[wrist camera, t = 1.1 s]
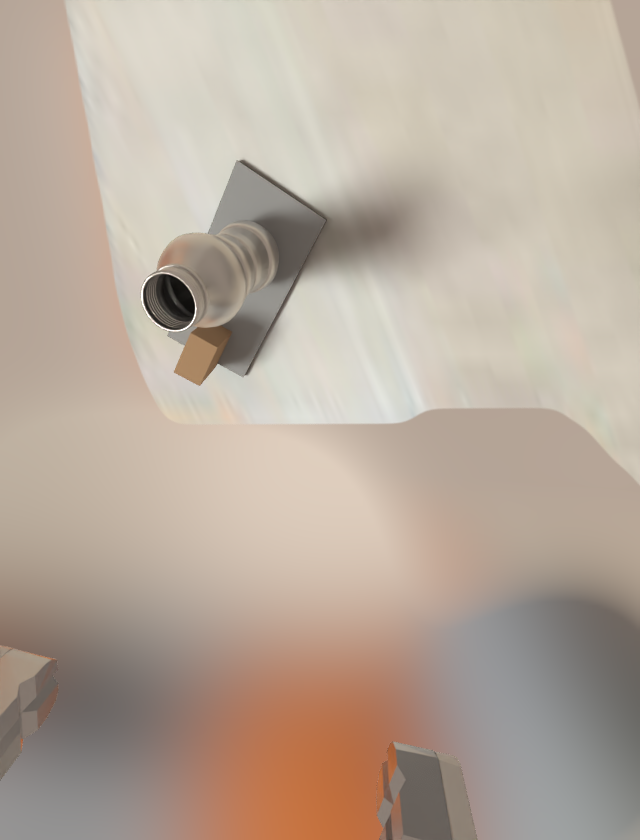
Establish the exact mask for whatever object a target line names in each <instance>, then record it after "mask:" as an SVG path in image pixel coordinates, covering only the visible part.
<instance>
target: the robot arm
mask: <svg viewBox="0 0 640 840" xmlns="http://www.w3.org/2000/svg"><path fill="white" fill-rule="evenodd" d="M57 670H58V665H57V660H56V659H52V658H48V657H44V656H40V655H36V654H32V653H28V652H24V651H20V650H17V649H14V648H10V647H6V646H1V645H0V780H1V779H2V777H3V776H4V775H5V773H6V772H7V771H8V769H9V768H10V767H11V765H12V764H13V763H14V761H15V760H16V759H17V757H18V756H19V755H20V753H21V751H22V744H23V739H24V738H26V737H28V736H29V735H31V734H32V733H34V732H36V731H37V730H38V729H39V728H40V726H41V725H42V724H43V722H44V721H45V720H46V718H47V716H48V715H49V713H50V711H51V709H52V707H53V705H54V703H55V701H56V698H57V694H58V682H57V681H56V679H55V678H54V677H53V675H54V674H55V673H56V672H57ZM387 757H388V760H387V761H385V762H384V763H382V766H381V768H380V771H379V776H378V783H377V798H376V800H377V801H376V802H377V816H378V819H379V821H380V823H381V825H382V827H383V831H382V834H381V836H380V838H379V840H477V835H476V831H475V827H474V822H473V818H472V813H471V809H470V804H469V801H468V796H467V791H466V787H465V783H464V778H463V774H462V769H461V765H460V763H459V761H458V759H457V758H456V757H455V756H452V755H447V754H443V753H439V752H435V751H433V750H428V749H424V748H419V747H415V746H411V745H406V744H402V743H397V742H391V743H390V745H389V747H388V750H387Z"/></svg>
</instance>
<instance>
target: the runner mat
mask: <svg viewBox="0 0 640 840" xmlns="http://www.w3.org/2000/svg"><path fill="white" fill-rule="evenodd" d="M239 220H249V221H252V222H255V223H257V224H259V225H261V226H263V227H264V228H265V229H266V230H268V231H269V232H270V234H271V235H272V236H273V238H274V240H275V242H276V244H277V247H278V252H279V264H278V269H277V272H276V275H275V277H274V279H273V280H272V282H271V283H270V284H269V285H268V286H267V287H266V288H264V289H262V290H260V291H257V292H254V293H249V294H248V295H247V296H246V298H245V300H244V302H243V305H242V306H241V308H240V309H239V311H238V312H237V314H236V315H235V316H234V317H233V318H232V319H231V320H230V321H228V322H227V323H225V324H223V325H220V326H217V327H209V328H202V327H195V326H191V327H190V328H189V329H187V330H184V331H181V332H170V331H169V333H168V335H167V336H168V337H170V338H172V339H174V340H176V341H177V342H179V343H181V344H183V345H185V347H184V349H183V352H182V354H181V356H180V359H179V361H178V363H177V366H176V368H175V370H174V373H176V374H178V375H180V376H182V377H184V378H186V379H187V380H189V381H191V382H193V383H195V384H197V385H199V386H200V385H201V384H202V382H203V381H204V380H205V379H206V378H207V376H208V375H209V374H210V373H211V372H212V371H213V369H214V368H215V367H216V365H217V363H218V364H220V365H222V366H223V367H225V368H227V369H229V370H231V371H233V372H234V373H236V374H238V375H240V376H242V377H244V375H245V373H246V371H247V370H248V368H249V366H250V364H251V362H252V360H253V358H254V356H255V354H256V353H257V351H258V349H259V347H260V345H261V343H262V341H263V339H264V337H265V335H266V334H267V332H268V330H269V328H270V326H271V324H272V322H273V320H274V318H275V317H276V315H277V313H278V311H279V309H280V307H281V305H282V303H283V301H284V299H285V298H286V296H287V294H288V292H289V290H290V288H291V286H292V284H293V282H294V281H295V279H296V277H297V275H298V273H299V271H300V269H301V267H302V265H303V264H304V262H305V260H306V258H307V256H308V254H309V252H310V250H311V248H312V246H313V245H314V243H315V241H316V239H317V237H318V235H319V233H320V231H321V229H322V228H323V226H324V224H325V222H326V219H324V218H323V217H321V216H320V215H318V214H317V213H315V212H314V211H312V210H311V209H309V208H308V207H306V206H305V205H303V204H302V203H300V202H299V201H297V200H296V199H294V198H293V197H291V196H290V195H288V194H287V193H285V192H284V191H282V190H281V189H279V188H278V187H276V186H275V185H273V184H272V183H270V182H269V181H267V180H266V179H264V178H263V177H261V176H260V175H258V174H257V173H255V172H254V171H252V170H251V169H249V168H248V167H246V166H245V165H243V164H242V163H240V162H239V161H236V163H235V166H234V169H233V171H232V174H231V176H230V179H229V181H228V184H227V186H226V189H225V191H224V194H223V196H222V199H221V201H220V204H219V206H218V209H217V211H216V214H215V217H214V219H213V222H212V224H211V227H210V229H209V232H208V234H213V235H216V234H219V233H220V231H221V230H222V229H223V228H225V227H226V226H227V225H229V224H230V223H232V222H235V221H239Z"/></svg>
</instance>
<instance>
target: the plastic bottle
mask: <svg viewBox="0 0 640 840" xmlns="http://www.w3.org/2000/svg"><path fill="white" fill-rule="evenodd" d="M278 264H279V252H278V247H277V244H276V242H275V240H274V238H273V236H272V235H271V234H270V232H269V231H268V230H266V229H265V228H264V227H263V226H261V225H259V224H257V223H255V222H252V221H249V220H239V221H235V222H232V223H230V224H229V225H227V226H226V227H225V228H223V229H222V230H221V231H220V233H219V234H216V235H213V234H207V233H189V234H183V235H181V236H179V237H176V238H175V239H174V240H172V241H171V242H170V243H169V244H168V246H167V247H166V248H165V249H164V251H163V253H162V254H161V256H160V259H159V261H158V265H157V271H156V272H154V273H152V274H151V275H149V276H148V277H147V279H146V280H145V281H144V283H143V285H142V289H141V301H142V305H143V308H144V310H145V312H146V314H147V315H148V317H149V318H150V320H151V321H152V322H153V323H154V324H156V325H157V326H158V327H160V328H162V329H164V330H166V331H170V332H181V331H184V330H187V329H189V328H190V327H191V326H195V327H202V328H209V327H217V326H220V325H223V324H225V323H227V322H228V321H230V320H231V319H232V318H233V317H234V316H235V315H236V314H237V312H238V311H239V309H240V308H241V306H242V305H243V302H244V300H245V298H246V296H247V295H248V294H249V293H254V292H257V291H260V290H262V289H264V288H266V287H267V286H268V285H269V284H270V283H271V282H272V280H273V279H274V277H275V275H276V272H277V269H278Z"/></svg>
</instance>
